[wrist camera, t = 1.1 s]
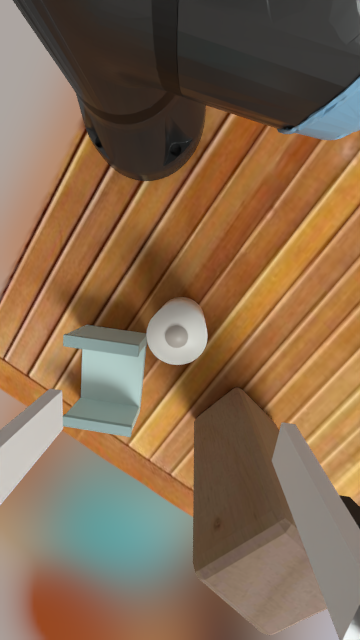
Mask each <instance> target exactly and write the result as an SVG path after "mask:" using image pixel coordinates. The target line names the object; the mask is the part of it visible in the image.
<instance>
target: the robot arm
mask: <svg viewBox="0 0 360 640" xmlns="http://www.w3.org/2000/svg"><path fill="white" fill-rule="evenodd" d="M13 1H14V3H15V4H16V6H17V7H18V9H19V10H20V11H21V13H22V14H23V16H24V17H25V19H26V20H27V22H28V23H29V25H30V26H31V28H32V29H33V30H34V32H35V33H36V35H37V36H38V38H39V39H40V41H41V42H42V43H43V45H44V47H45V48H46V49H47V51H48V52H49V54H50V55H51V57H52V58H53V60H54V61H55V62H56V64H57V65H58V67H59V68H60V70H61V71H62V73H63V74H64V76H65V77H66V79H67V80H68V82H69V83H70V85H71V86H72V88H73V89H74V90H75V92H76V94H77V98H78V102H79V105H80V109H81V113H82V117H83V120H84V124H85V127H86V130H87V132H88V135H89V137H90V139H91V141H92V143H93V144H94V146H95V147H96V149H97V150H98V152H99V153H100V154H101V155H102V157H103V158H104V159H105V160H106V162H107V163H108V164H109V165H110V166H111V167H112V168H114V169H115V170H116V171H118V172H119V173H121V174H122V175H124V176H126V177H129V178H132V179H135V180H141V181H152V180H158V179H162V178H164V177H167V176H169V175H171V174H173V173H174V172H176V171H177V170H178V169H180V168H181V167H182V166H183V165H184V164H185V163H186V162H187V161H188V160H189V158H190V157H191V156H192V154H193V153H194V151H195V149H196V147H197V146H198V143H199V141H200V138H201V135H202V132H203V128H204V122H205V109H206V105H207V106H210V107H213V108H216V109H219V110H222V111H225V112H229V113H232V114H235V115H238V116H241V117H244V118H247V119H250V120H253V121H256V122H259V123H262V124H265V125H268V126H271V127H274V128H277V130H278V132H280V133H283V134H292V133H298V134H302V135H306V136H310V137H314V138H318V139H322V140H335V139H340V138H342V137H344V136H347V135H349V134H351V133H352V132H357V131H359V130H360V0H13ZM62 430H63V408H62V391H61V390H54V389H49V390H48V391H47V392H45V393H44V394H43V395H42V396H41V397H39V398H38V399H37V400H36V401H35V402H33V403H32V404H31V405H30V406H29V407H27V408H26V409H25V410H24V411H23V412H22V413H20V414H19V415H18V416H17V417H15V418H14V419H13V420H12V421H11V422H10V423H8V424H7V425H6V426H5V427H3V428H2V429H1V430H0V505H1V504H2V502H3V501H4V500H5V499H6V497H7V496H8V495H9V494H10V493H11V491H12V490H13V489H14V488H15V487H16V485H17V484H18V483H19V482H20V481H21V479H22V478H23V477H24V476H25V474H26V473H27V472H28V471H29V470H30V468H31V467H32V466H33V465H34V464H35V462H36V461H37V460H38V459H39V457H40V456H41V455H42V454H43V453H44V451H45V450H46V449H47V448H48V446H49V445H50V444H51V443H52V442H53V440H54V439H55V438H56V437H57V436H58V434H59V433H60V432H61V431H62ZM272 463H273V466H274V468H275V471H276V474H277V476H278V479H279V482H280V484H281V487H282V490H283V492H284V495H285V497H286V500H287V503H288V505H289V508H290V511H291V513H292V516H293V519H294V521H295V524H296V526H297V529H298V532H299V534H300V537H301V540H302V542H303V545H304V548H305V550H306V553H307V555H308V558H309V561H310V563H311V566H312V569H313V571H314V574H315V577H316V579H317V582H318V584H319V587H320V590H321V592H322V595H323V598H324V600H325V603H326V606H327V608H328V611H329V613H330V616H331V619H332V621H333V624H334V626H335V629H336V632H337V634H338V637H339V639H340V640H360V507H359V506H358V505H357V504H356V503H355V502H354V501H353V500H352V499H351V498H350V497H346V496H340V495H338V493H337V491H336V490H335V488H334V486H333V485H332V483H331V482H330V480H329V478H328V477H327V475H326V473H325V472H324V470H323V469H322V467H321V465H320V464H319V462H318V460H317V459H316V457H315V456H314V454H313V452H312V451H311V449H310V448H309V446H308V444H307V443H306V441H305V439H304V438H303V436H302V435H301V433H300V431H299V430H298V428H297V426H296V425H295V424H289V423H281V427H280V431H279V435H278V439H277V442H276V446H275V450H274V454H273V458H272Z"/></svg>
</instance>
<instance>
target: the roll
mask: <svg viewBox="0 0 360 640" xmlns="http://www.w3.org/2000/svg"><path fill="white" fill-rule="evenodd" d="M146 336H147V342H148V345H149V348H150V350H151V351H152V352H153V354H154V355H155V356H156V357H157V358H158V359H160V360H162V361H163V362H165V363H168V364H173V365H183V364H187V363H190V362H192V361H194V360H195V359H197V358H198V357H199V356H200V355H201V354H202V352H203V351H204V349H205V347H206V344H207V337H208V336H207V328H206V323H205V318H204V313H203V311H202V309H201V307H200V306H199V304H198V303H196V302H195V301H194V300H192V299H190V298H186V297H177V298H173V299H171V300H169V301H168V302H167V303H165V305H164V306H163V307H162V308H161V309H160V310H159V311H158V312H157V313H156V314H155V315H154V316H153V317H152V319H151V320H150V322H149V324H148V327H147V333H146Z"/></svg>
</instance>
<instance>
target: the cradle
mask: <svg viewBox="0 0 360 640" xmlns="http://www.w3.org/2000/svg"><path fill="white" fill-rule="evenodd" d="M63 346H66V347H73V348H80V349H82V377H81V398H80V399H79V400H78V401H77V402H76V404H75V405H74V406H73V407H72V408H71V409H70V410H69V411H68V412H67V413H66V414H64V416H63V426H66V427H72V428H78V429H84V430H90V431H97V432H103V433H109V434H115V435H121V436H127V437H131V434H132V430H133V427H134V425H135V422H136V420H137V417H138V415H139V412H140V406H141V396H142V386H143V376H144V366H145V356H146V346H147V336H146V333H140V332H133V331H126V330H119V329H113V328H106V327H99V326H92V325H85V326H82V327H80V328H78V329H76V330H74V331H72V332H70V333H68V334H64V341H63Z"/></svg>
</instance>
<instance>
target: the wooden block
mask: <svg viewBox="0 0 360 640" xmlns="http://www.w3.org/2000/svg"><path fill="white" fill-rule="evenodd" d="M278 435H279V430H278V428H277V426H276V424H275V423H274V422H273V421H272V420H271V419H270V418H269V417H268V415H267V414H266V413H265V412H264V411H263V410H262V409H261V408H260V407H259V406H258V405H257V404H256V403H255V402H254V401H253V400H252V399H251V398H250V397H249V396H248V395H247V394H246V393H245V392H244V391H243V390H242V389H240V388H238V387H236V388H233V389H232V390H231V391H230V392H228V393H227V394H226V395H225V396H223V397H222V398H221V399H219V400H218V401H217V402H216V403H214V404H213V405H212V406H211V407H209V408H208V409H207V410H206V411H204V412H203V413H202V414H201V415H199V416H198V417H197V418H196V420H195V422H194V515H193V522H194V523H193V564H194V569H195V572H196V574H197V576H198V578H199V579H200V580H201V581H202V582H203V583H204V584H205V585H207V586H208V587H209V588H210V589H211V590H213V591H214V592H215V593H216V594H217V595H218V596H220V597H221V598H222V599H223V600H224V601H225V602H227V603H228V604H229V605H230V606H231V607H232V608H233V609H235V610H236V611H237V612H239V614H240V615H242V616H243V617H244V618H245V619H246V620H247V621H249V622H250V623H251V624H252V625H253V626H255V627H256V628H257V629H258V630H259V631H261V632H262V633H264V634H267V635H272V634H275V633H277V632H279V631H282V630H284V629H286V628H288V627H290V626H292V625H294V624H296V623H298V622H300V621H302V620H304V619H306V618H309V617H311V616H313V615H315V614H317V613H319V612H321V611H323V610H325V609H327V606H326V603H325V600H324V598H323V595H322V592H321V590H320V587H319V584H318V582H317V579H316V577H315V574H314V571H313V569H312V566H311V563H310V561H309V558H308V555H307V553H306V550H305V548H304V545H303V542H302V540H301V537H300V534H299V532H298V529H297V526H296V524H295V521H294V519H293V516H292V513H291V511H290V508H289V505H288V503H287V500H286V497H285V495H284V492H283V490H282V487H281V484H280V482H279V479H278V476H277V474H276V471H275V468H274V466H273V463H272V458H273V454H274V450H275V446H276V442H277V439H278Z"/></svg>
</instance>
